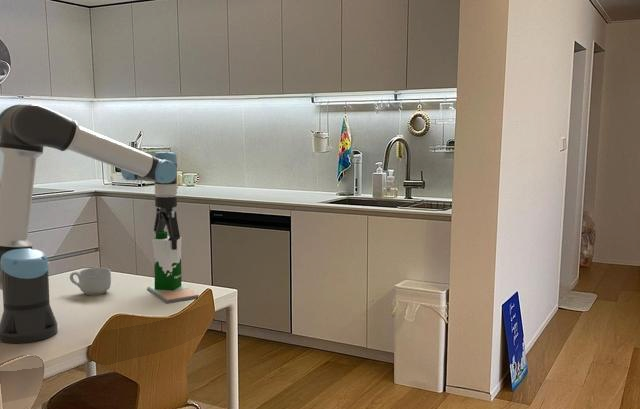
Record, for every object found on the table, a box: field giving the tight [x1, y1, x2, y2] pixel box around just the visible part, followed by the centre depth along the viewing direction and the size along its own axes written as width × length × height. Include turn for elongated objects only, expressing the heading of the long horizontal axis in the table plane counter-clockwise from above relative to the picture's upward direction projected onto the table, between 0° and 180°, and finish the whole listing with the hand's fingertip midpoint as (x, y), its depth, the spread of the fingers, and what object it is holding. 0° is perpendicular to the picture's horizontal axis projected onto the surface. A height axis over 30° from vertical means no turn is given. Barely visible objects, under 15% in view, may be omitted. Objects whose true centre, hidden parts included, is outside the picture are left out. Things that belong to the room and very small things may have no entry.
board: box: [146, 283, 200, 304], centre depth 212 cm, size 12×20×1 cm, turn 34°
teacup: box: [69, 267, 112, 296], centre depth 212 cm, size 14×11×8 cm
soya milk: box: [151, 230, 183, 290], centre depth 215 cm, size 9×9×20 cm
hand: (166, 255), depth 214 cm, fingers open, 13 cm apart
